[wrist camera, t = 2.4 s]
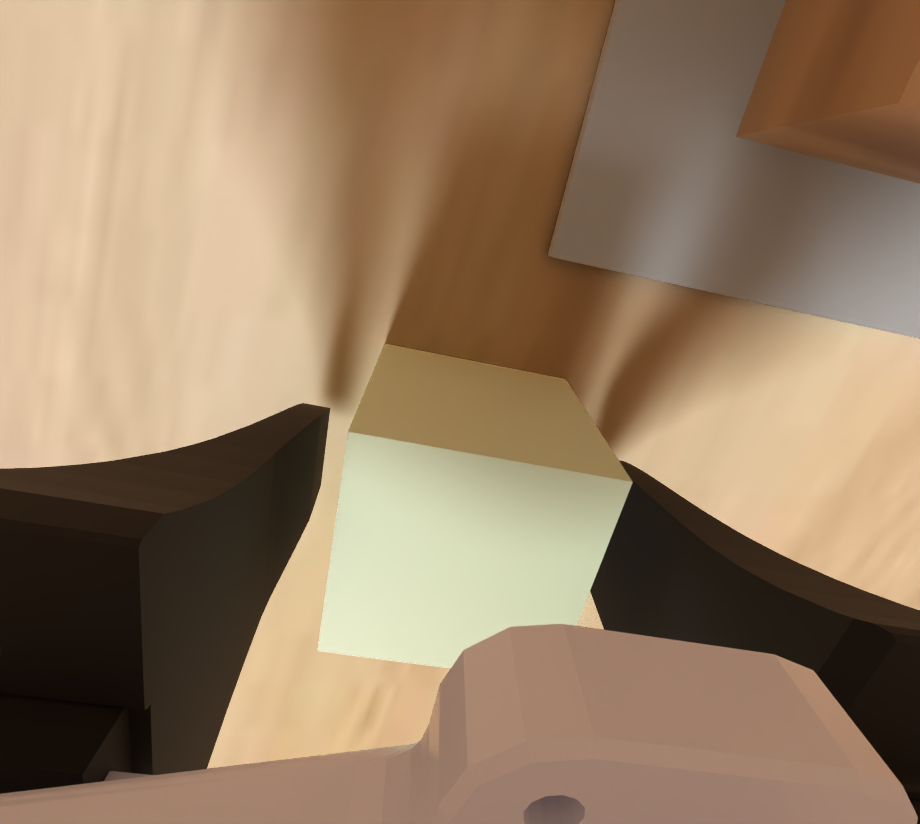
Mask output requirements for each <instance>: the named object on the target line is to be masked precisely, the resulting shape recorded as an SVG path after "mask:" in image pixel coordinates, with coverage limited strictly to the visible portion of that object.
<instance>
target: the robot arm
mask: <svg viewBox="0 0 920 824" xmlns="http://www.w3.org/2000/svg"><path fill="white" fill-rule="evenodd" d="M329 413H330V408H326V407H321V406H315V405H310V404H304V403H302V404H299V405H296V406H293V407H291V408H288V409H286V410H284V411H282V412H279V413H277V414H275V415H273V416H270V417H268V418H266V419H263V420H261V421H259V422H256V423H254V424H252V425H249V426H247V427H244V428H241V429H238V430H236V431H233V432H230V433H228V434H225V435H222V436H219V437H217V438H214V439H211V440H207V441H204V442H201V443H197V444H194V445H190V446H186V447H182V448H178V449H174V450H170V451H166V452H161V453H155V454H149V455H144V456H138V457H132V458H126V459H121V460H115V461H107V462H99V463H90V464H81V465H69V466H56V467H41V468H14V469H0V824H920V610H916V609H913V608H910V607H907V606H904V605H901V604H899V603H896V602H893V601H891V600H888V599H885V598H882V597H880V596H877V595H874V594H871V593H869V592H866V591H863V590H861V589H858V588H856V587H853V586H851V585H848V584H846V583H843V582H841V581H838V580H836V579H833V578H831V577H829V576H827V575H824V574H822V573H820V572H817V571H815V570H813V569H811V568H808V567H806V566H804V565H802V564H799V563H797V562H795V561H793V560H791V559H789V558H787V557H785V556H782V555H780V554H778V553H776V552H775V551H773V550H771V549H769V548H767V547H765V546H763V545H761V544H759V543H757V542H755V541H753V540H752V539H750V538H748V537H746V536H744V535H742V534H741V533H739V532H737V531H735V530H734V529H732V528H730V527H729V526H727V525H725V524H724V523H722V522H720V521H719V520H717V519H715V518H714V517H712V516H711V515H709V514H707V513H706V512H704V511H703V510H701V509H700V508H698V507H696V506H695V505H693V504H692V503H690V502H689V501H687V500H686V499H684V498H683V497H681V496H680V495H678V494H677V493H675V492H674V491H672V490H671V489H669V488H668V487H666V486H665V485H663V484H662V483H660V482H659V481H657V480H656V479H654V478H653V477H651V476H650V475H648V474H646V473H645V472H643V471H642V470H640V469H638V468H636V467H635V466H633V465H631V464H629V463H627V462H624V461H619V462H620V463H621V465H622V466H623V468H624V469H625V471H626V472H627V474H628V476H629V477H630V479H631V480H632V482H633V483H632V485H631V488H630V490H629V493H628V495H627V498H626V501H625V503H624V506H623V508H622V511H621V513H620V516H619V518H618V521H617V523H616V526H615V529H614V531H613V534H612V536H611V539H610V541H609V544H608V546H607V549H606V552H605V554H604V557H603V559H602V562H601V564H600V567H599V569H598V572H597V574H596V577H595V580H594V582H593V585H592V587H591V590H590V591H591V594H592V597H593V600H594V603H595V605H596V608H597V611H598V614H599V616H600V619H601V622H602V625H603V627H604V630H602V629H595V628H588V627H581V626H574V625H567V624H545V625H528V626H512V627H509V628H507V629H505V630H503V631H501V632H499V633H497V634H495V635H493V636H491V637H489V638H487V639H485V640H483V641H481V642H479V643H477V644H475V645H473V646H471V647H469V648H467V649H465V650H463V651H462V653H461V654H460V656H459V657H458V659H457V660H456V662H455V663H454V665H453V666H452V668H451V669H450V671H449V672H448V673H447V675H446V676H445V678H444V679H443V681H442V682H441V684H440V686H439V690H438V693H437V697H436V701H435V704H434V708H433V712H432V715H431V719H430V723H429V725H428V727H427V729H426V731H425V733H424V735H423V738H422V739H421V740H420V741H419V742H417V743H415V744H410V745H401V746H393V747H385V748H377V749H368V750H360V751H352V752H343V753H335V754H327V755H318V756H310V757H302V758H293V759H285V760H277V761H269V762H260V763H252V764H244V765H235V766H227V767H219V768H210V769H207V766H208V763H209V760H210V757H211V755H212V752H213V749H214V746H215V743H216V740H217V737H218V734H219V731H220V729H221V726H222V723H223V720H224V717H225V714H226V711H227V708H228V706H229V703H230V700H231V697H232V695H233V692H234V689H235V686H236V683H237V681H238V678H239V675H240V672H241V670H242V667H243V664H244V661H245V659H246V656H247V653H248V651H249V648H250V645H251V643H252V640H253V637H254V635H255V632H256V629H257V627H258V624H259V621H260V619H261V616H262V614H263V612H264V610H265V607H266V605H267V603H268V601H269V598H270V596H271V594H272V592H273V590H274V589H275V587H276V585H277V583H278V581H279V579H280V577H281V575H282V573H283V571H284V569H285V567H286V565H287V563H288V561H289V559H290V557H291V555H292V553H293V551H294V549H295V547H296V545H297V543H298V541H299V539H300V537H301V535H302V533H303V531H304V529H305V527H306V525H307V523H308V521H309V519H310V516H311V513H312V510H313V507H314V504H315V501H316V498H317V495H318V492H319V489H320V486H321V478H322V470H323V462H324V454H325V446H326V438H327V430H328V421H329Z"/></svg>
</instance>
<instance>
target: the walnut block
mask: <svg viewBox="0 0 920 824" xmlns="http://www.w3.org/2000/svg"><path fill="white" fill-rule="evenodd" d="M736 137H739V138H743V139H747V140H751V141H755V142H759V143H763V144H767V145H771V146H774V147H778V148H782V149H786V150H790V151H794V152H798V153H802V154H806V155H810V156H813V157H817V158H821V159H825V160H829V161H833V162H837V163H841V164H845V165H849V166H852V167H856V168H860V169H864V170H868V171H872V172H876V173H880V174H884V175H888V176H891V177H895V178H899V179H903V180H907V181H911V182H915V183H919V184H920V0H786V2H785V5H784V7H783V10H782V13H781V15H780V18H779V21H778V24H777V26H776V29H775V32H774V34H773V37H772V40H771V42H770V45H769V48H768V51H767V53H766V56H765V59H764V61H763V64H762V67H761V69H760V72H759V75H758V78H757V80H756V83H755V86H754V88H753V91H752V94H751V96H750V99H749V102H748V105H747V107H746V110H745V113H744V115H743V118H742V121H741V123H740V126H739V129H738V132H737V134H736Z"/></svg>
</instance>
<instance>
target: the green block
mask: <svg viewBox="0 0 920 824" xmlns="http://www.w3.org/2000/svg"><path fill="white" fill-rule="evenodd" d="M632 483H633V482H632V480H631V479H630V477H629V476H628V474H627V472H626V471H625V469H624V468H623V466H622V465H621V463H620V462H619V460H618V459H617V457H616V456H615V454H614V453H613V451H612V449H611V448H610V446H609V445H608V443H607V442H606V440H605V439H604V437H603V436H602V434H601V433H600V431H599V429H598V428H597V426H596V425H595V423H594V422H593V420H592V419H591V417H590V416H589V414H588V413H587V411H586V409H585V408H584V406H583V405H582V403H581V402H580V400H579V399H578V397H577V396H576V394H575V393H574V391H573V390H572V388H571V386H570V385H569V383H568V382H567V380H566V379H563V378H558V377H553V376H548V375H543V374H538V373H533V372H528V371H523V370H517V369H512V368H507V367H502V366H497V365H492V364H487V363H482V362H477V361H471V360H466V359H461V358H456V357H451V356H446V355H441V354H436V353H431V352H426V351H420V350H415V349H410V348H405V347H400V346H395V345H390V344H384V347H383V349H382V352H381V354H380V356H379V359H378V361H377V364H376V366H375V368H374V371H373V373H372V376H371V378H370V380H369V383H368V385H367V387H366V390H365V392H364V395H363V397H362V399H361V402H360V404H359V407H358V409H357V411H356V414H355V416H354V419H353V421H352V423H351V426H350V428H349V431H348V436H347V443H346V450H345V457H344V464H343V471H342V479H341V486H340V493H339V500H338V507H337V514H336V522H335V529H334V536H333V543H332V550H331V557H330V565H329V572H328V579H327V586H326V593H325V600H324V608H323V615H322V622H321V629H320V636H319V643H318V650H317V651H321V652H329V653H336V654H344V655H351V656H359V657H367V658H374V659H382V660H389V661H397V662H404V663H412V664H420V665H427V666H435V667H442V668H450V669H451V668H452V666H453V665H454V663H455V662H456V660H457V659H458V657H459V656H460V654H461V653H462V651H463V650H465V649H467V648H469V647H471V646H473V645H475V644H477V643H479V642H481V641H483V640H485V639H487V638H489V637H491V636H493V635H495V634H497V633H499V632H501V631H503V630H505V629H507V628H509V627H512V626H528V625H545V624H567V625H574V626H576V625H577V623H578V620H579V618H580V615H581V613H582V610H583V608H584V605H585V603H586V600H587V597H588V595H589V592H590V590H591V587H592V585H593V582H594V580H595V577H596V574H597V572H598V569H599V567H600V564H601V562H602V559H603V557H604V554H605V552H606V549H607V546H608V544H609V541H610V539H611V536H612V534H613V531H614V529H615V526H616V523H617V521H618V518H619V516H620V513H621V511H622V508H623V506H624V503H625V501H626V498H627V495H628V493H629V490H630V488H631V485H632Z"/></svg>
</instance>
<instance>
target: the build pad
mask: <svg viewBox="0 0 920 824" xmlns="http://www.w3.org/2000/svg"><path fill="white" fill-rule="evenodd" d="M785 2H786V0H615V4H614V8H613V11H612V15H611V19H610V23H609V26H608V30H607V34H606V38H605V41H604V45H603V49H602V53H601V56H600V60H599V64H598V68H597V71H596V75H595V79H594V83H593V86H592V90H591V94H590V98H589V101H588V105H587V109H586V113H585V117H584V120H583V124H582V128H581V132H580V135H579V139H578V143H577V147H576V150H575V154H574V158H573V162H572V165H571V169H570V173H569V177H568V180H567V184H566V188H565V192H564V195H563V199H562V203H561V207H560V210H559V214H558V218H557V222H556V225H555V229H554V233H553V237H552V240H551V244H550V248H549V252H548V256H550V257H553V258H557V259H562V260H566V261H571V262H575V263H580V264H585V265H589V266H594V267H598V268H603V269H607V270H612V271H616V272H621V273H625V274H630V275H634V276H639V277H643V278H648V279H652V280H657V281H661V282H666V283H670V284H675V285H680V286H684V287H689V288H693V289H698V290H702V291H707V292H711V293H716V294H720V295H725V296H729V297H734V298H738V299H743V300H747V301H752V302H756V303H761V304H765V305H770V306H774V307H779V308H784V309H788V310H793V311H797V312H802V313H806V314H811V315H815V316H820V317H824V318H829V319H833V320H838V321H842V322H847V323H851V324H856V325H860V326H865V327H869V328H874V329H879V330H883V331H888V332H892V333H897V334H901V335H906V336H910V337H915V338H919V339H920V184H919V183H915V182H911V181H907V180H903V179H899V178H895V177H891V176H888V175H884V174H880V173H876V172H872V171H868V170H864V169H860V168H856V167H852V166H849V165H845V164H841V163H837V162H833V161H829V160H825V159H821V158H817V157H813V156H810V155H806V154H802V153H798V152H794V151H790V150H786V149H782V148H778V147H774V146H771V145H767V144H763V143H759V142H755V141H751V140H747V139H743V138H739V137H736V134H737V132H738V129H739V126H740V123H741V121H742V118H743V115H744V113H745V110H746V107H747V105H748V102H749V99H750V96H751V94H752V91H753V88H754V86H755V83H756V80H757V78H758V75H759V72H760V69H761V67H762V64H763V61H764V59H765V56H766V53H767V51H768V48H769V45H770V42H771V40H772V37H773V34H774V32H775V29H776V26H777V24H778V21H779V18H780V15H781V13H782V10H783V7H784V5H785Z"/></svg>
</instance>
